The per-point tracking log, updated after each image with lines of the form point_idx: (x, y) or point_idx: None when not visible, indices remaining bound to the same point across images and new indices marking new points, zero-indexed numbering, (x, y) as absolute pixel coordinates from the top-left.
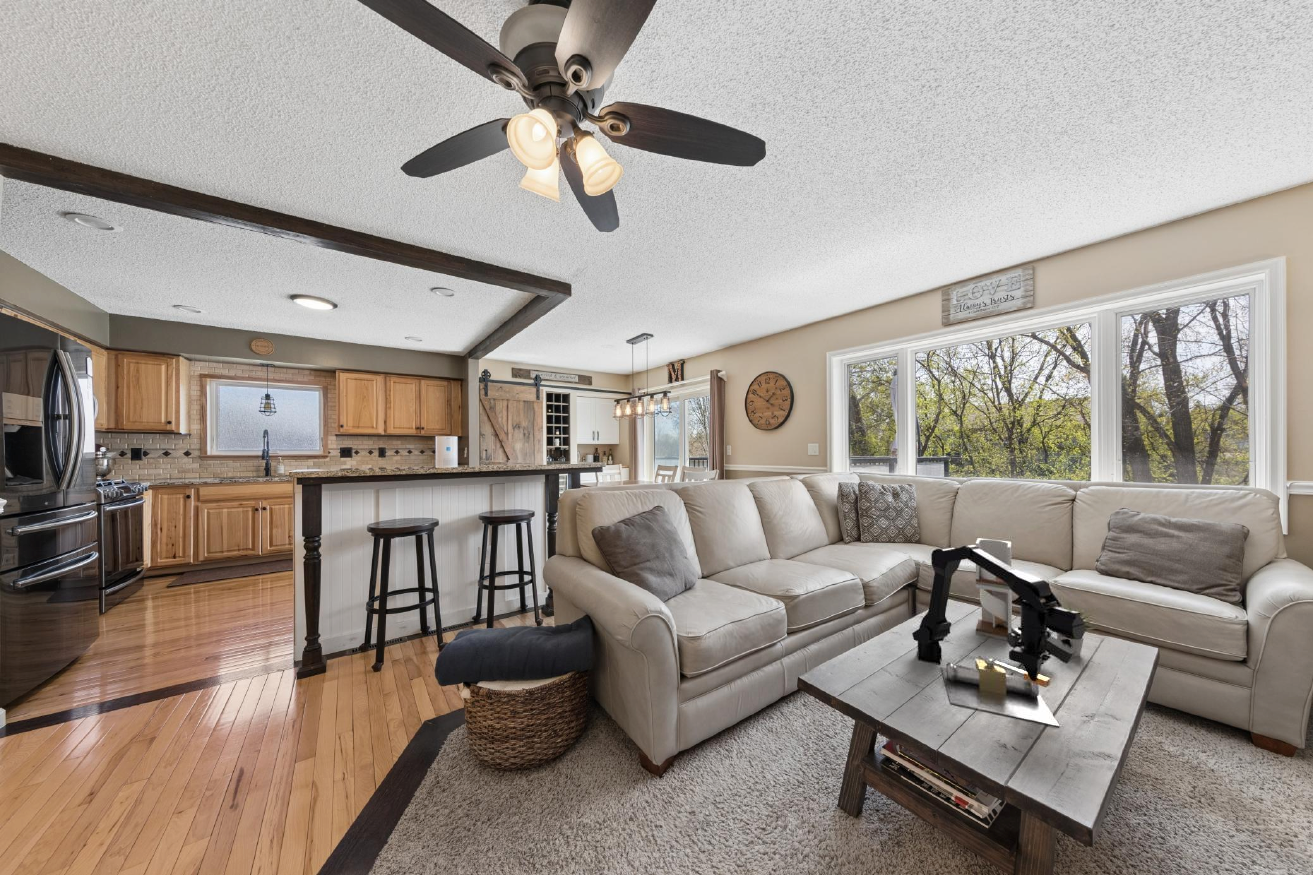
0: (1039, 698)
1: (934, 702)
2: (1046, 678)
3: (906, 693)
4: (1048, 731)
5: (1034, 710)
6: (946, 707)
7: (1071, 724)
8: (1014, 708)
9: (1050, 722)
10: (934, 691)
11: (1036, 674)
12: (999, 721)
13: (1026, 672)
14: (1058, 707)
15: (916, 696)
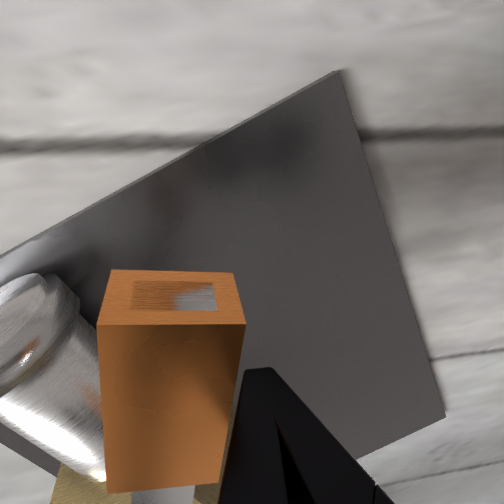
0: (35, 259)
1: (463, 433)
2: (147, 344)
3: (456, 482)
4: (427, 108)
5: (246, 227)
6: (475, 406)
7: (216, 17)
8: (310, 290)
9: (330, 124)
10: (383, 466)
11: (339, 443)
12: (470, 282)
13: (187, 478)
14: (17, 147)
15: (457, 466)
